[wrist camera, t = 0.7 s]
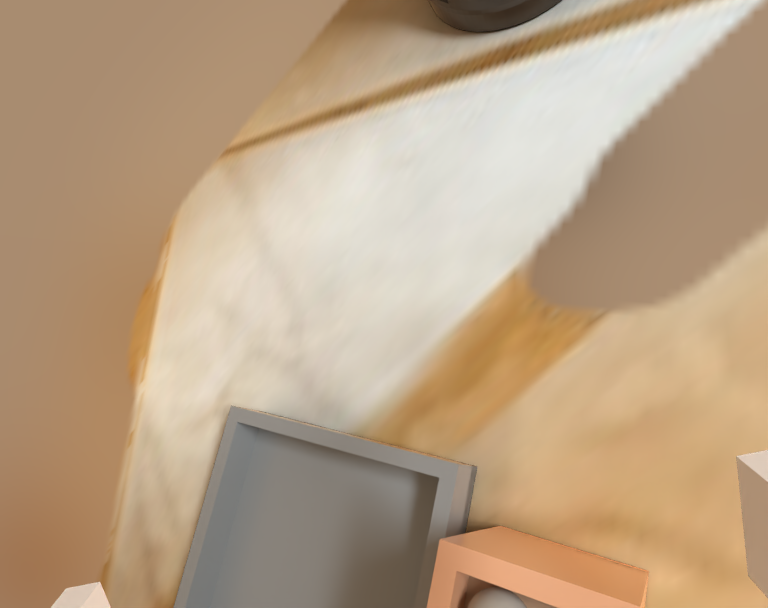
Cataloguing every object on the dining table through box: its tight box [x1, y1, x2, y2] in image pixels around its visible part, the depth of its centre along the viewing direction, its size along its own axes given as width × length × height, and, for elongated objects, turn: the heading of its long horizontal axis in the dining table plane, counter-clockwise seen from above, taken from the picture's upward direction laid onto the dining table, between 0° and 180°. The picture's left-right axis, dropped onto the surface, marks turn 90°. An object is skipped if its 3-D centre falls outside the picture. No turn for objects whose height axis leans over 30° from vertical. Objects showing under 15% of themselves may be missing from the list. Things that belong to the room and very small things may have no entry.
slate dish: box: [173, 406, 477, 608], centre depth 34 cm, size 18×18×4 cm
